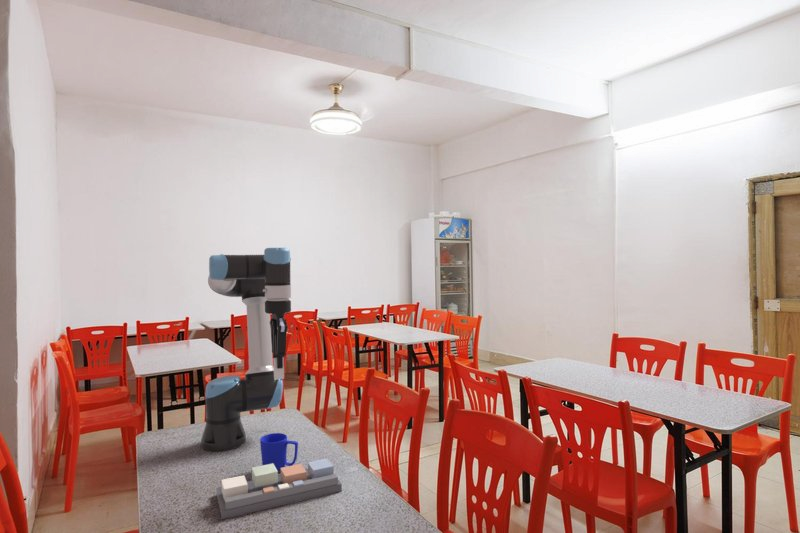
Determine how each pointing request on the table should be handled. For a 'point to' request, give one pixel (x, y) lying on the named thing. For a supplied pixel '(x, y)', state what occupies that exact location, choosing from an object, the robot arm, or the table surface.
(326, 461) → the blue key
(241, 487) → the ivory key
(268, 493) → the keypad
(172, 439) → the table surface
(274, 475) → the sage key
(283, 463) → the mug
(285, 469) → the terracotta key
